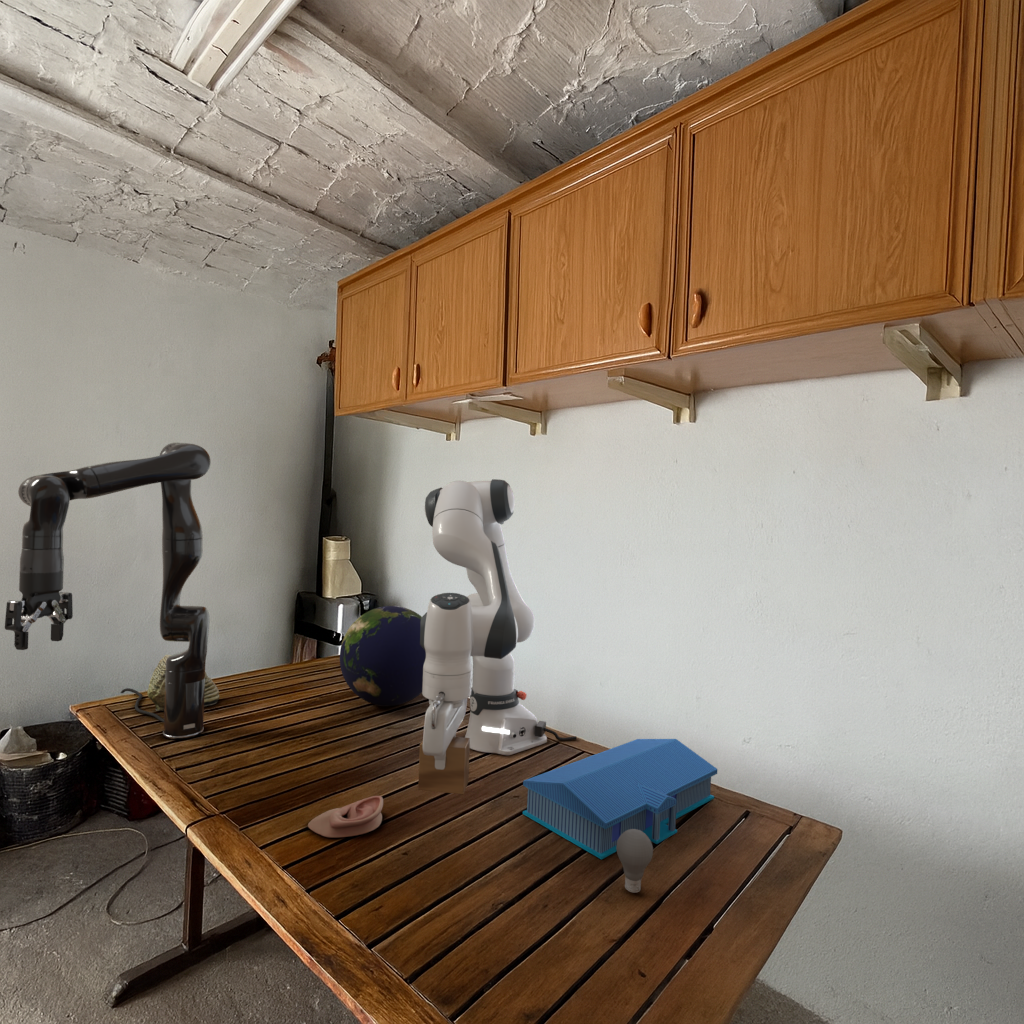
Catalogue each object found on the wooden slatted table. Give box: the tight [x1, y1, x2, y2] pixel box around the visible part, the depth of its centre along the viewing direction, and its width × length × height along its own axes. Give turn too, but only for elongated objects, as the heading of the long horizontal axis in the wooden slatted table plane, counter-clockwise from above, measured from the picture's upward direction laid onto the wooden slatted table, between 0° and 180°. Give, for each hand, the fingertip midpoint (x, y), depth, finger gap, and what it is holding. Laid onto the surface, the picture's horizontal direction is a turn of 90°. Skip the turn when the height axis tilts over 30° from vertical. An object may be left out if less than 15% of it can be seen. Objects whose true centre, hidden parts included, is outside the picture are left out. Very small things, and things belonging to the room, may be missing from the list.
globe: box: [339, 605, 426, 707], centre depth 194 cm, size 30×30×30 cm
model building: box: [522, 738, 718, 860], centre depth 134 cm, size 39×24×10 cm, turn 132°
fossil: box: [147, 654, 221, 712], centre depth 185 cm, size 9×18×15 cm, turn 132°
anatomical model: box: [307, 795, 384, 839], centre depth 123 cm, size 13×4×12 cm
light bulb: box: [616, 829, 654, 894], centre depth 106 cm, size 6×6×10 cm
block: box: [417, 736, 471, 795], centre depth 115 cm, size 5×8×8 cm, turn 84°
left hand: (39, 645), depth 135 cm, fingers open, 8 cm apart
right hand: (444, 760), depth 115 cm, fingers closed on block, 5 cm apart
